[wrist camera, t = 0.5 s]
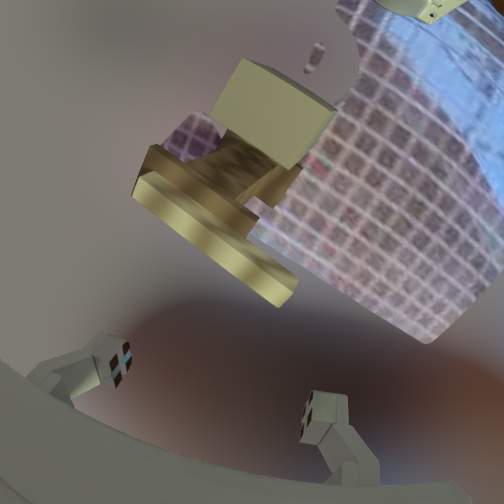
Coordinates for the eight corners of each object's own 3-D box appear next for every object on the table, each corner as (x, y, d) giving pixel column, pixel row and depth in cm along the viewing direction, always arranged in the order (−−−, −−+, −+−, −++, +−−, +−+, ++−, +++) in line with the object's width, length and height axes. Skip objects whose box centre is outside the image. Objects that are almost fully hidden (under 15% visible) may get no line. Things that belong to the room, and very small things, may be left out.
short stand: (303, 167, 55) (260, 215, 33) (274, 206, 61) (220, 272, 39) (235, 120, 55) (152, 139, 33) (212, 161, 60) (128, 201, 39)
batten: (299, 278, 35) (293, 292, 33) (284, 293, 37) (278, 308, 35) (154, 170, 35) (139, 176, 33) (146, 189, 37) (131, 196, 35)
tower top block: (335, 111, 41) (330, 111, 35) (299, 160, 47) (288, 170, 40) (260, 63, 41) (242, 57, 35) (230, 113, 47) (208, 115, 40)
